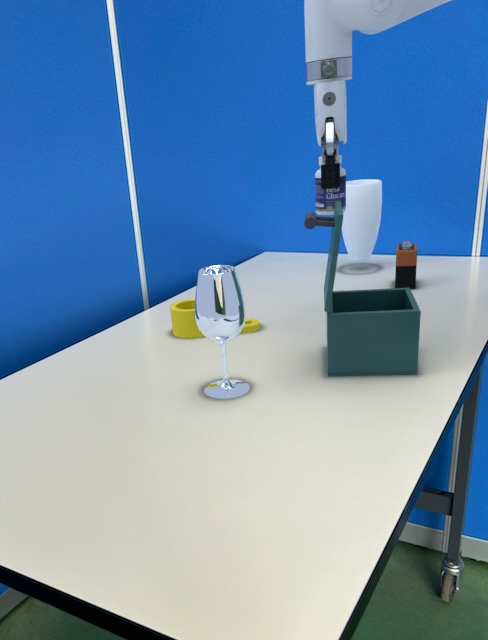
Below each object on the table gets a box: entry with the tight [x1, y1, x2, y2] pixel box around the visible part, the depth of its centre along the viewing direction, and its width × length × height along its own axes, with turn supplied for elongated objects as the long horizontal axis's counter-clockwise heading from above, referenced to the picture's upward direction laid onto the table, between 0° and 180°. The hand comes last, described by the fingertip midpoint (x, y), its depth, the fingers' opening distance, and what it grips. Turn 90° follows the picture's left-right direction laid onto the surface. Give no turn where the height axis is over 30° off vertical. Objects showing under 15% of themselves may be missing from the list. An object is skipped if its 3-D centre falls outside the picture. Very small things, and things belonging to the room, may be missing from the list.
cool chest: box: [326, 287, 422, 378], centre depth 103 cm, size 14×13×11 cm
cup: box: [341, 178, 383, 262], centre depth 155 cm, size 10×10×22 cm
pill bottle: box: [314, 154, 347, 216], centre depth 112 cm, size 5×5×10 cm
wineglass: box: [194, 264, 250, 400], centre depth 97 cm, size 8×8×20 cm
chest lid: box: [303, 201, 343, 313], centre depth 99 cm, size 15×13×5 cm
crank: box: [169, 298, 261, 339], centre depth 127 cm, size 18×8×6 cm, turn 81°
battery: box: [394, 240, 418, 290], centre depth 140 cm, size 4×7×10 cm, turn 163°
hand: (330, 184), depth 112 cm, fingers closed on pill bottle, 5 cm apart
